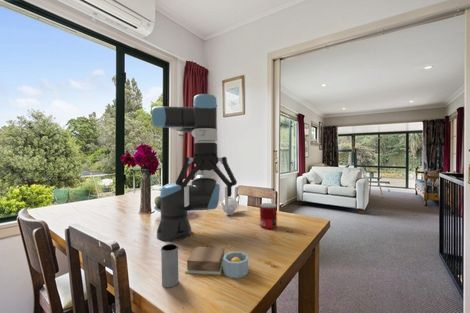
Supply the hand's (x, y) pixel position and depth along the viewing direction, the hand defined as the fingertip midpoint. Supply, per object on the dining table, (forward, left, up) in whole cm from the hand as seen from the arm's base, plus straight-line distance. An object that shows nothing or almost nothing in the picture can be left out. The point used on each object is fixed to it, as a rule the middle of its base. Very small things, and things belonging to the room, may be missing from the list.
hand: (206, 206), depth 73 cm
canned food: (+22, +37, -19) cm, 48 cm away
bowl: (+10, -5, -19) cm, 22 cm away
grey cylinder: (-8, -12, -19) cm, 24 cm away
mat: (0, -1, -19) cm, 19 cm away
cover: (0, -1, -18) cm, 18 cm away
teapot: (0, +60, -19) cm, 63 cm away
